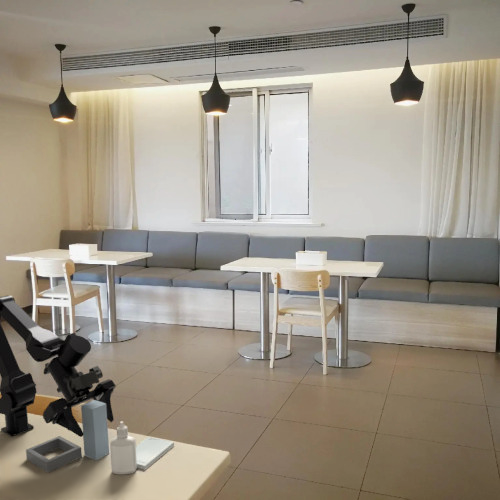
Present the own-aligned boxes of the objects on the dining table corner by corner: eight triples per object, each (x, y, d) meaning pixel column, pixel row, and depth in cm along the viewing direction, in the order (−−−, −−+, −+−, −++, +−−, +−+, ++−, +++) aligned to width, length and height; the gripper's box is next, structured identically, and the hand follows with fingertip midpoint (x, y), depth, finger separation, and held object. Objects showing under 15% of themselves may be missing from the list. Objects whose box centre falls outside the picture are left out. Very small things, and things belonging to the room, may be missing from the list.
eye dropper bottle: (127, 478, 119) (124, 428, 117) (108, 472, 121) (105, 423, 120) (140, 469, 122) (137, 420, 121) (122, 463, 125) (119, 416, 124)
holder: (26, 459, 128) (25, 449, 128) (60, 444, 135) (59, 435, 135) (47, 472, 122) (46, 462, 122) (81, 456, 129) (81, 447, 129)
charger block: (84, 455, 130) (81, 405, 128) (97, 448, 133) (94, 399, 131) (96, 460, 127) (92, 409, 125) (109, 453, 130) (106, 403, 129)
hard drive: (147, 436, 137) (117, 458, 125) (174, 441, 133) (145, 465, 122) (148, 442, 137) (117, 465, 126) (174, 448, 133) (145, 472, 122)
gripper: (46, 370, 122) (79, 426, 117) (109, 349, 137) (140, 397, 132) (29, 396, 127) (60, 450, 122) (91, 372, 143) (121, 420, 138)
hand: (97, 428), depth 129 cm, fingers open, 9 cm apart
